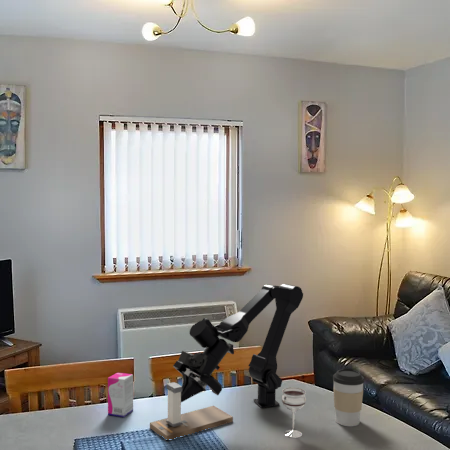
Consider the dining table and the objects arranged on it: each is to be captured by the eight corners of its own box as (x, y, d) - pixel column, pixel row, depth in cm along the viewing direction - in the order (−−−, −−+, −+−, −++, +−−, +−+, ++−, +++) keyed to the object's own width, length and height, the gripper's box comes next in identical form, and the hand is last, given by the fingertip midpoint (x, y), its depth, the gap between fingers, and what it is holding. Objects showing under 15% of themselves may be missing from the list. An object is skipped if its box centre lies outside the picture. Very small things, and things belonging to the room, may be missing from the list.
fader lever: (174, 419, 155) (175, 381, 154) (182, 424, 151) (183, 386, 150) (165, 421, 153) (165, 383, 152) (173, 427, 149) (173, 388, 149)
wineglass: (308, 431, 152) (309, 389, 151) (301, 441, 146) (302, 397, 145) (285, 426, 155) (286, 385, 154) (277, 436, 149) (278, 393, 148)
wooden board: (213, 410, 166) (213, 405, 166) (232, 421, 158) (232, 416, 158) (149, 427, 153) (149, 422, 153) (167, 441, 145) (167, 435, 145)
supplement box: (133, 410, 165) (133, 373, 165) (124, 418, 160) (124, 380, 159) (117, 407, 167) (117, 371, 166) (107, 415, 162) (106, 377, 161)
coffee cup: (363, 429, 154) (365, 377, 153) (331, 426, 155) (332, 375, 155) (362, 416, 162) (363, 367, 162) (331, 413, 164) (332, 365, 163)
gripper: (179, 333, 162) (145, 376, 156) (213, 348, 147) (178, 396, 141) (200, 355, 167) (169, 397, 161) (236, 371, 152) (203, 418, 146)
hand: (178, 401), depth 152 cm, fingers closed, pressing on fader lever
